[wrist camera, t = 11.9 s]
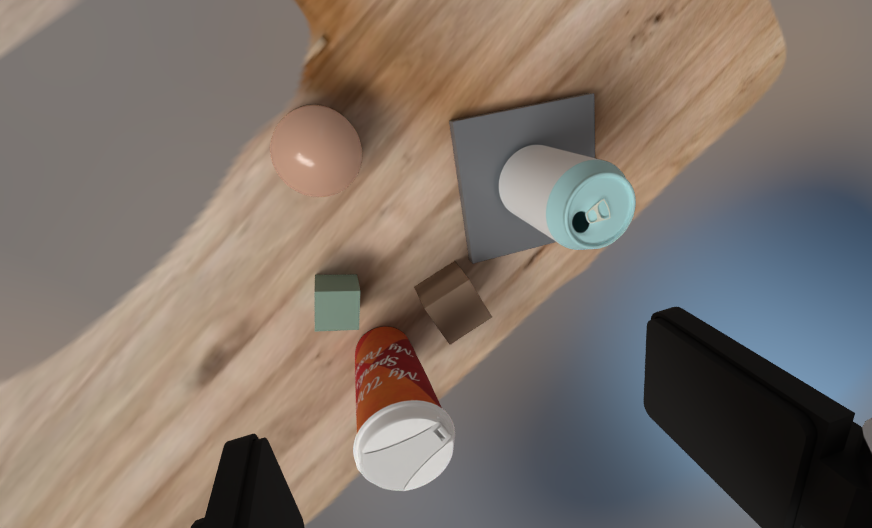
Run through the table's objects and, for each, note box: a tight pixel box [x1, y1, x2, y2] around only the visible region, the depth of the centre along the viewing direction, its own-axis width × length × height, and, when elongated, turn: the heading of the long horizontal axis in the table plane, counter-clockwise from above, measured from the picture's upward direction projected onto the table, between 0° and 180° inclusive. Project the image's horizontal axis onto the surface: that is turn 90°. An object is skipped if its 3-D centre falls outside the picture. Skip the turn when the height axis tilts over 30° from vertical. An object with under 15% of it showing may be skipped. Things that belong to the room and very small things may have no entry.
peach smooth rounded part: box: [270, 105, 362, 197], centre depth 36 cm, size 7×7×4 cm
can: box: [499, 145, 636, 250], centre depth 37 cm, size 7×7×12 cm
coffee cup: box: [353, 326, 455, 491], centre depth 40 cm, size 8×8×15 cm
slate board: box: [449, 93, 595, 263], centre depth 43 cm, size 14×14×1 cm
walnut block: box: [414, 261, 492, 344], centre depth 44 cm, size 5×5×5 cm
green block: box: [315, 275, 360, 331], centre depth 41 cm, size 4×4×4 cm
